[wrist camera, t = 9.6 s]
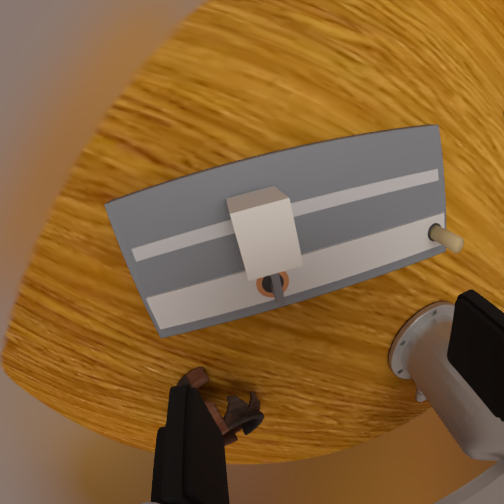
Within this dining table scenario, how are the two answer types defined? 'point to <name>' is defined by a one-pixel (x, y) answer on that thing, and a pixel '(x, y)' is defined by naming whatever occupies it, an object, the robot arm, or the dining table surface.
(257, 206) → the white block with pointer
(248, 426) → the pottery mug
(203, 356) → the dining table surface
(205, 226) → the gauge board
